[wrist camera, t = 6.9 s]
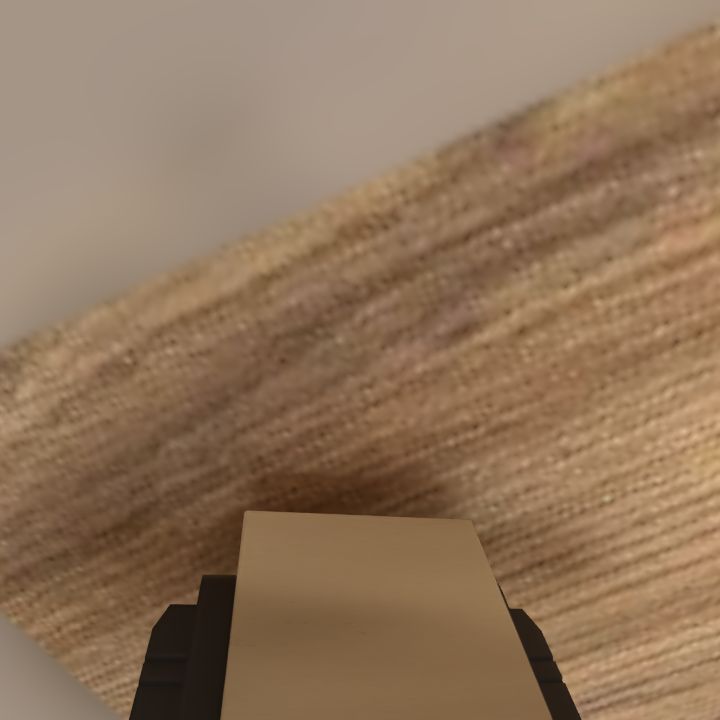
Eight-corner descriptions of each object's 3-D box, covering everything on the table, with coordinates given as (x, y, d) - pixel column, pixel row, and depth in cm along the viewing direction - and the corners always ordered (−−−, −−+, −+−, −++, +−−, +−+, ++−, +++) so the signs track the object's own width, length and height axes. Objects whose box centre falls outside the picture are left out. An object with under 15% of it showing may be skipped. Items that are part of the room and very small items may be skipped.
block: (427, 666, 13) (487, 921, 9) (232, 667, 12) (204, 944, 8) (471, 518, 11) (570, 758, 7) (244, 509, 10) (214, 769, 6)
